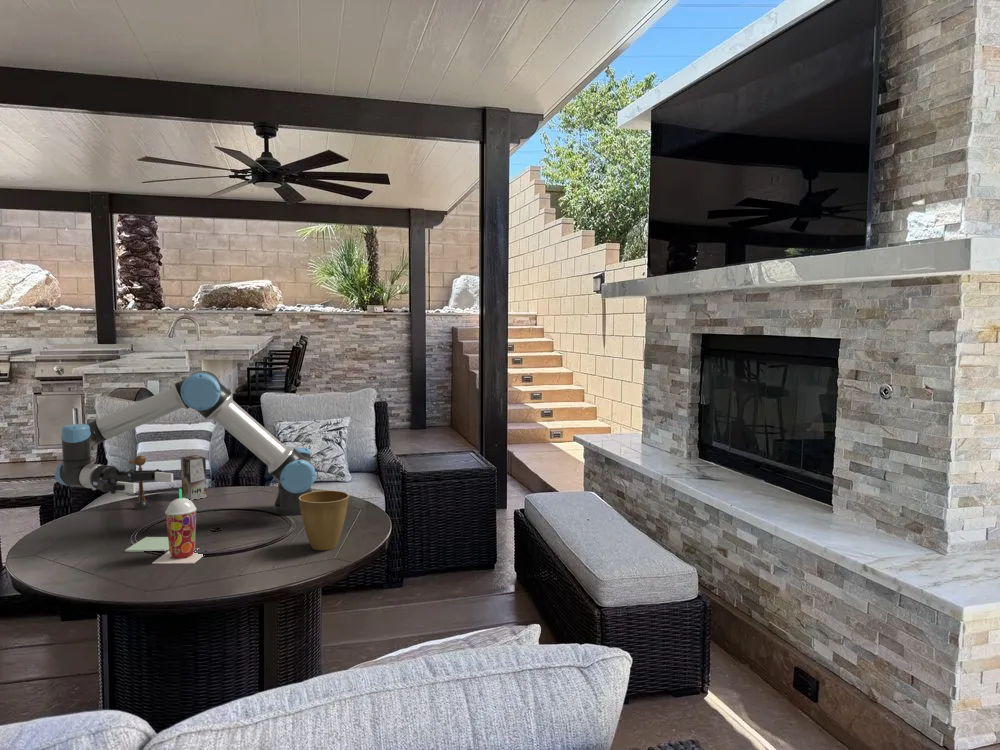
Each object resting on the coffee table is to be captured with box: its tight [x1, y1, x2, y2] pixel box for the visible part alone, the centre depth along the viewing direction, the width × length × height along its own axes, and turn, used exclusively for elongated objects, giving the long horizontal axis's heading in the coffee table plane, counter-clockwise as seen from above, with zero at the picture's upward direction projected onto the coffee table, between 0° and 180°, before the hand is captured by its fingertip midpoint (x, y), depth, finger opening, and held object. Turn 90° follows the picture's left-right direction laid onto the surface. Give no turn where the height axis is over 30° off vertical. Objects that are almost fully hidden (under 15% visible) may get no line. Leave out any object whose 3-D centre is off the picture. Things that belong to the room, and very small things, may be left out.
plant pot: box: [299, 490, 350, 551], centre depth 203 cm, size 15×15×16 cm
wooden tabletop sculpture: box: [128, 455, 150, 511], centre depth 244 cm, size 6×5×20 cm
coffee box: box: [180, 454, 208, 501], centre depth 260 cm, size 9×6×16 cm
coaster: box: [124, 536, 169, 553], centre depth 204 cm, size 12×12×1 cm
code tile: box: [151, 548, 204, 565], centre depth 195 cm, size 12×12×1 cm
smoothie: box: [164, 488, 198, 558], centre depth 194 cm, size 8×8×20 cm
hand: (154, 482), depth 196 cm, fingers open, 13 cm apart
